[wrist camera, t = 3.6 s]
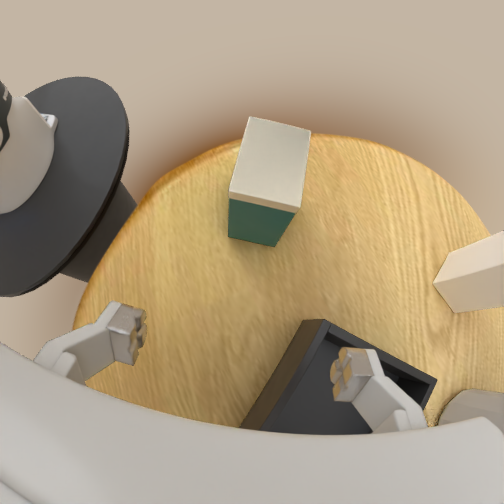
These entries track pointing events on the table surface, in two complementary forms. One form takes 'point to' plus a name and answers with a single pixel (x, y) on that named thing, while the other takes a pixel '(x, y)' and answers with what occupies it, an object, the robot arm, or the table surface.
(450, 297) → the milk
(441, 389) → the table surface
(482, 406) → the jar
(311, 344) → the basket
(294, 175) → the carton
